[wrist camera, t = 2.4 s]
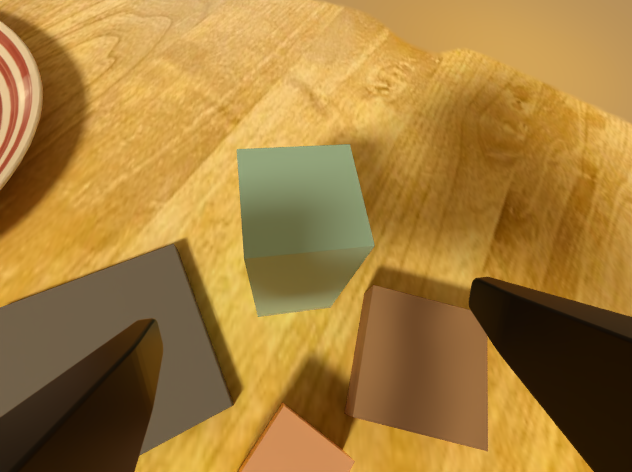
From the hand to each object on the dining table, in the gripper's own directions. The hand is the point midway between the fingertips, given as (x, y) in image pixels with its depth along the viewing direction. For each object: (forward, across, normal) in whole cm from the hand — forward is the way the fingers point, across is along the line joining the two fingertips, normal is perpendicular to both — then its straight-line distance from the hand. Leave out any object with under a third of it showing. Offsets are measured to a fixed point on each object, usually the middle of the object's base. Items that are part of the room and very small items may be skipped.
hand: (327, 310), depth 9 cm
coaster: (+8, +10, +7) cm, 15 cm away
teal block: (+11, 0, +5) cm, 12 cm away
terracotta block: (+2, +1, +10) cm, 10 cm away
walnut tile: (+7, -7, +10) cm, 13 cm away
